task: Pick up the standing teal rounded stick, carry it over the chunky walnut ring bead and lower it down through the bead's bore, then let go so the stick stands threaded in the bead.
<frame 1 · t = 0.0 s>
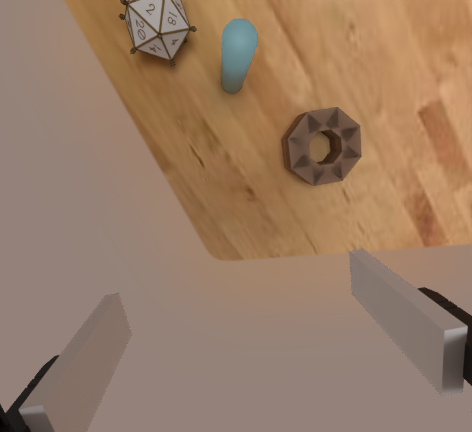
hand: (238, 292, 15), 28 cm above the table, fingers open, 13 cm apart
bead: (315, 147, 41), on the table
teal rounded stick: (231, 81, 38), on the table
game die: (164, 36, 36), on the table
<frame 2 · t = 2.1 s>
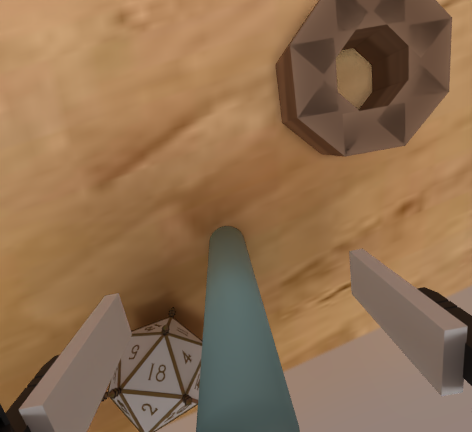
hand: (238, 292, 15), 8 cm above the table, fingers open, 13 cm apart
bead: (343, 83, 20), on the table
teal rounded stick: (226, 242, 23), on the table
game die: (168, 333, 25), on the table
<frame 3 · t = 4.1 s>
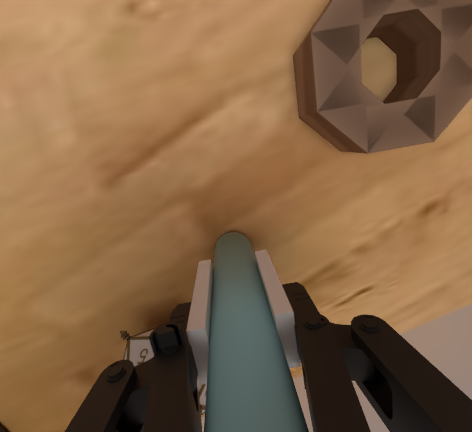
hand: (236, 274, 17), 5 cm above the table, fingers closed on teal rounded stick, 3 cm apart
bead: (365, 75, 19), on the table
teal rounded stick: (233, 249, 21), point 1 cm above the table, touching gripper
game die: (178, 335, 25), on the table
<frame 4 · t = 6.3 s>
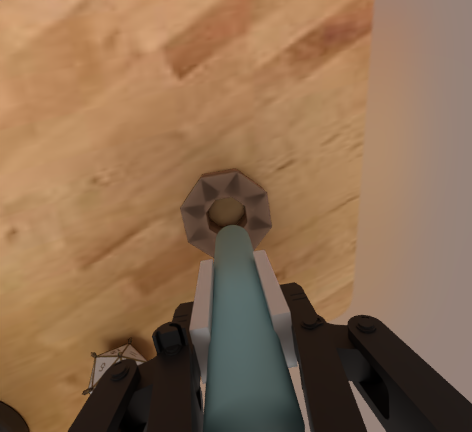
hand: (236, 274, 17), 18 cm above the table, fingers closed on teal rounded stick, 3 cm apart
bead: (226, 209, 35), on the table
teal rounded stick: (232, 241, 23), point 12 cm above the table, touching gripper
game die: (129, 353, 40), on the table
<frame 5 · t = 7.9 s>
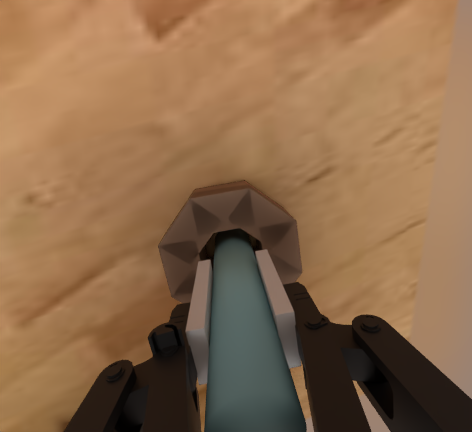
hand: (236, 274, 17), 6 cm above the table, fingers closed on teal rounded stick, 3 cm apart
bead: (230, 240, 23), on the table
teal rounded stick: (232, 241, 23), resting in bead, touching gripper
when the fingers open (5 cm above the table, at t = 8.8 s): teal rounded stick stays where it is, resting in bead.
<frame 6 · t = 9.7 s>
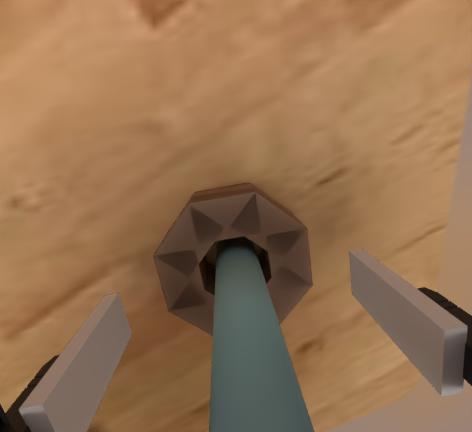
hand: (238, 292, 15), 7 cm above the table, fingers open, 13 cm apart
bead: (233, 248, 22), on the table
teal rounded stick: (235, 248, 22), resting in bead
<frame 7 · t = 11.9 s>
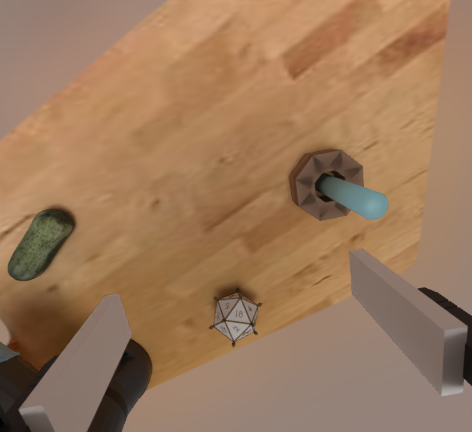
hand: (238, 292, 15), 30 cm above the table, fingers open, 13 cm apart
bead: (321, 182, 44), on the table
teal rounded stick: (322, 182, 44), resting in bead
game die: (235, 301, 49), on the table
vegetable: (49, 240, 45), on the table
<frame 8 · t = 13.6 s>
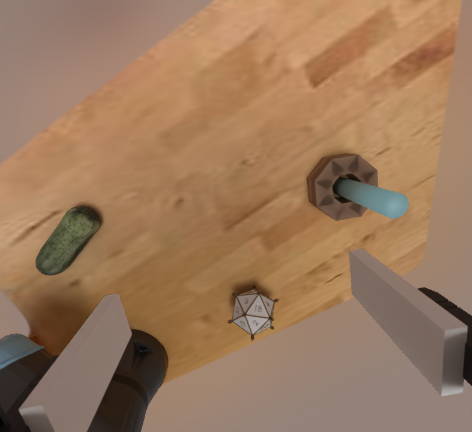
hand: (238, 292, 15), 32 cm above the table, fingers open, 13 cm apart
bead: (336, 184, 46), on the table
teal rounded stick: (337, 185, 46), resting in bead
game die: (250, 297, 51), on the table
vegetable: (74, 237, 47), on the table
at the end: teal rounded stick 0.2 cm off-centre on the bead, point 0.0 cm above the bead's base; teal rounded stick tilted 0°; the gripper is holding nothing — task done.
